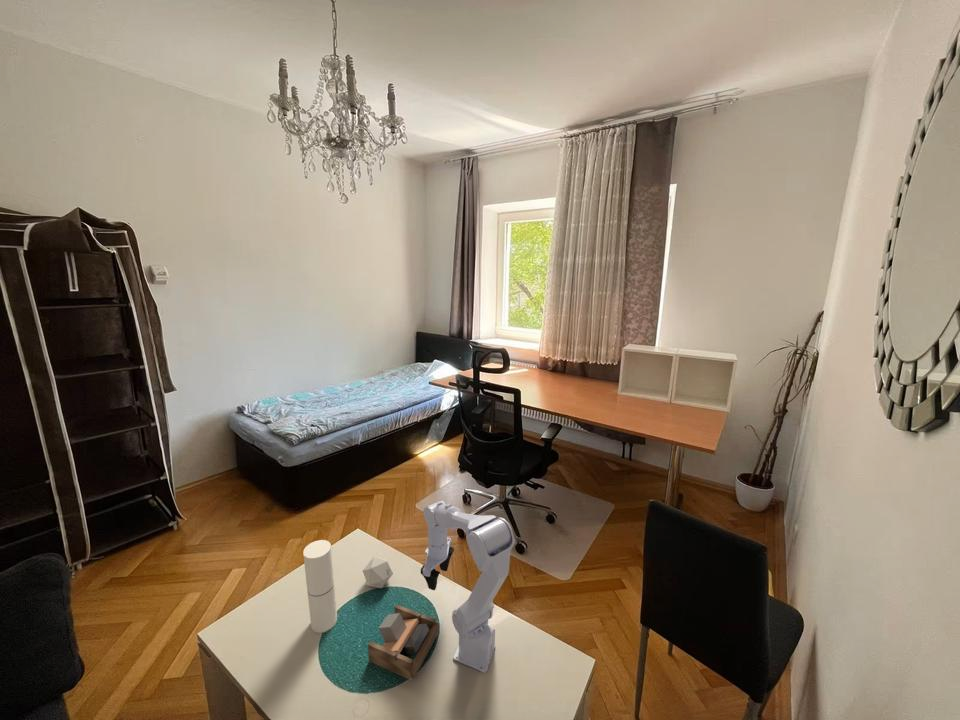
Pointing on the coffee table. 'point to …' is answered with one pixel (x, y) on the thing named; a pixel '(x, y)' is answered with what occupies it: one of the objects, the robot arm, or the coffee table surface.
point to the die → (377, 572)
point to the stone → (392, 628)
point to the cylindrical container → (320, 585)
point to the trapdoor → (413, 641)
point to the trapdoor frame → (396, 660)
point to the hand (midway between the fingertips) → (438, 579)
